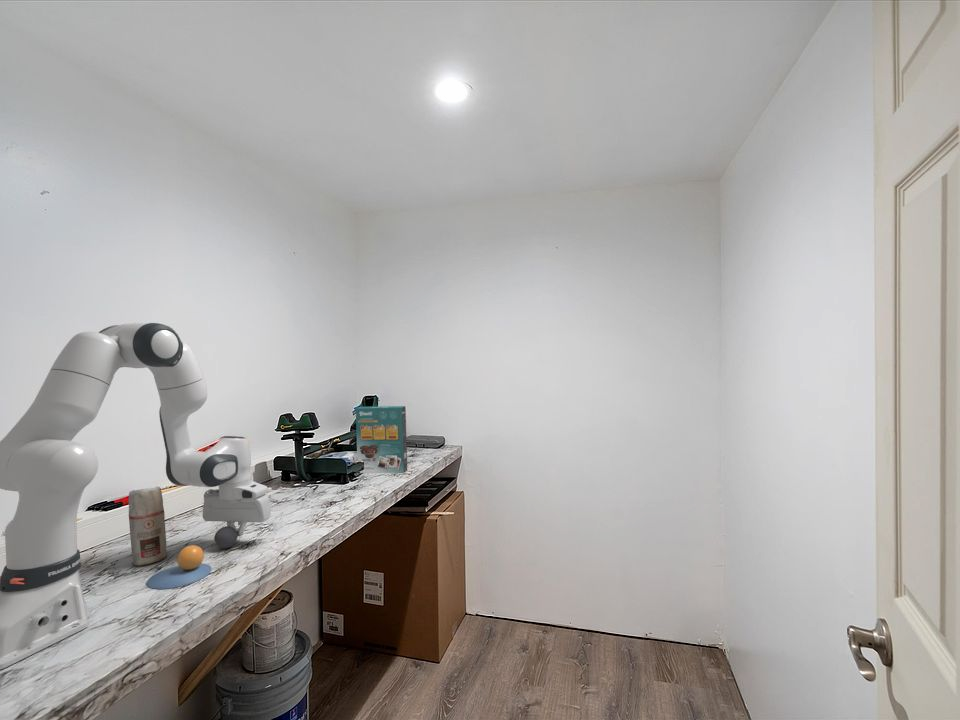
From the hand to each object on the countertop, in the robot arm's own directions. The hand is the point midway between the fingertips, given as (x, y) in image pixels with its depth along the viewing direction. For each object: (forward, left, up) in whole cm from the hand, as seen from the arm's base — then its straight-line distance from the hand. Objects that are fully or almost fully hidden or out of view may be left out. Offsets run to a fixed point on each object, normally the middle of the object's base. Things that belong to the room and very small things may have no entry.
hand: (237, 535), depth 148 cm
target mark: (-23, 0, -2) cm, 23 cm away
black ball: (-5, 0, +1) cm, 5 cm away
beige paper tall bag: (-15, +16, -2) cm, 22 cm away
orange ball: (-19, 0, +1) cm, 19 cm away
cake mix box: (+85, -15, -2) cm, 86 cm away
